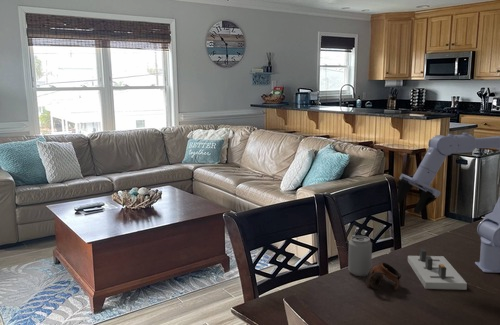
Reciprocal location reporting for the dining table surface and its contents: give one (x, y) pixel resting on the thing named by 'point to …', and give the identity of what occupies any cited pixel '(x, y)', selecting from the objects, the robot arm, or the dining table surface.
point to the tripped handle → (442, 271)
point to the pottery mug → (376, 275)
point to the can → (360, 255)
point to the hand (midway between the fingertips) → (406, 207)
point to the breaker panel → (435, 272)
